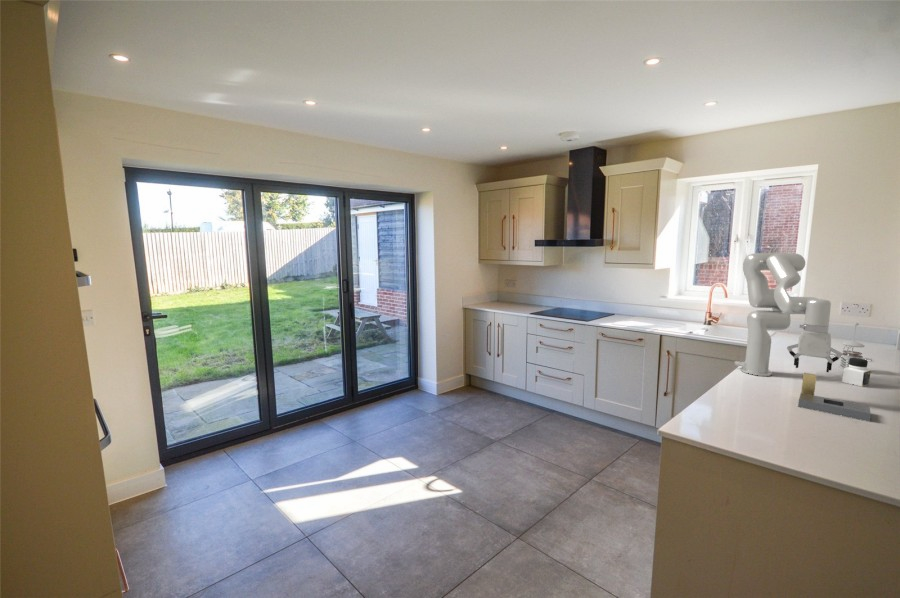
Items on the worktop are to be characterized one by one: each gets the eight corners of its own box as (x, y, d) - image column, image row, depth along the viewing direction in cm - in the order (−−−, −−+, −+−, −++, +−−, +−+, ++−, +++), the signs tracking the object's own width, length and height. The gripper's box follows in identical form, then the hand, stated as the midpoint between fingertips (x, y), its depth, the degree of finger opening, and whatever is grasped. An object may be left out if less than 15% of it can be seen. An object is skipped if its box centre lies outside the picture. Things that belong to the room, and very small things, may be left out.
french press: (842, 372, 208) (848, 323, 205) (831, 366, 219) (837, 319, 216) (867, 374, 205) (874, 325, 201) (855, 368, 215) (861, 321, 212)
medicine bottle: (862, 387, 186) (865, 361, 185) (841, 382, 193) (845, 357, 191) (868, 384, 190) (872, 359, 188) (848, 380, 196) (851, 355, 194)
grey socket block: (798, 406, 163) (798, 399, 163) (800, 399, 170) (800, 392, 170) (869, 421, 150) (870, 413, 149) (868, 413, 157) (869, 406, 156)
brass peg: (800, 397, 173) (803, 374, 172) (801, 395, 176) (804, 372, 175) (813, 399, 171) (816, 376, 169) (813, 397, 173) (816, 374, 172)
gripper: (788, 327, 173) (784, 367, 174) (844, 332, 161) (840, 375, 162) (789, 325, 178) (786, 364, 180) (844, 330, 166) (840, 371, 168)
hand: (811, 369), depth 171 cm, fingers open, 9 cm apart
